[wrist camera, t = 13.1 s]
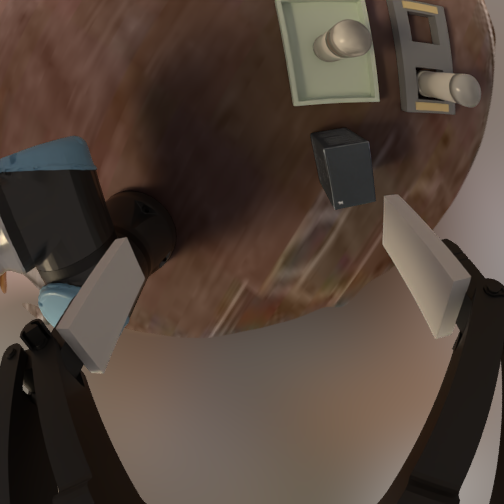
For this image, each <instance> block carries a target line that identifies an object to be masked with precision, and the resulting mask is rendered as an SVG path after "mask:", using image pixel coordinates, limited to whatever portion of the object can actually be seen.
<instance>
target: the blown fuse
mask: <svg viewBox="0 0 504 504" xmlns="http://www.w3.org/2000/svg"><path fill="white" fill-rule="evenodd" d="M371 45H372V37H371V34H370V32H369V30H368V29H367V28H366V27H365V26H364V25H363V24H362V23H360V22H358V21H355V20H351V19H346V20H342V21H339V22H338V23H336V24H335V25H334V26H333V27H332V28H330V29H329V30H328V31H327V32H325V33H324V34H322V35H320V36H319V37H317V38H316V39H315V41H314V43H313V51H314V54H315V55H316V56H317V57H318V58H319V59H320V60H322V61H324V62H334V61H338V60H340V59H344V58H352V57H358V56H362V55H364V54H366V53H367V52H368V51H369V50H370V48H371Z"/></svg>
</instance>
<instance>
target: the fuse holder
mask: <svg viewBox="0 0 504 504" xmlns="http://www.w3.org/2000/svg"><path fill="white" fill-rule="evenodd" d="M386 1H387V6H388V10H389V15H390V21H391V26H392V32H393V38H394V44H395V51H396V58H397V66H398V76H399V86H400V99H401V110H402V111H406V112H421V113H440V114H453V115H455V103H454V102H450V101H446V100H442V99H438V100H435V99H422V98H418V88H417V76H416V68H426V69H434V70H436V72H443V73H453V66H452V57H451V49H450V42H449V35H448V29H447V24H446V18H445V13H444V9H443V7H441V6H437V5H432V4H428V3H423V2H418V1H413V0H386ZM408 14H410V15H417V16H422V17H428V19H429V25H430V30H431V36H432V43H433V44H428V43H421V42H414V41H412V36H411V30H410V25H409V19H408Z"/></svg>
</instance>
